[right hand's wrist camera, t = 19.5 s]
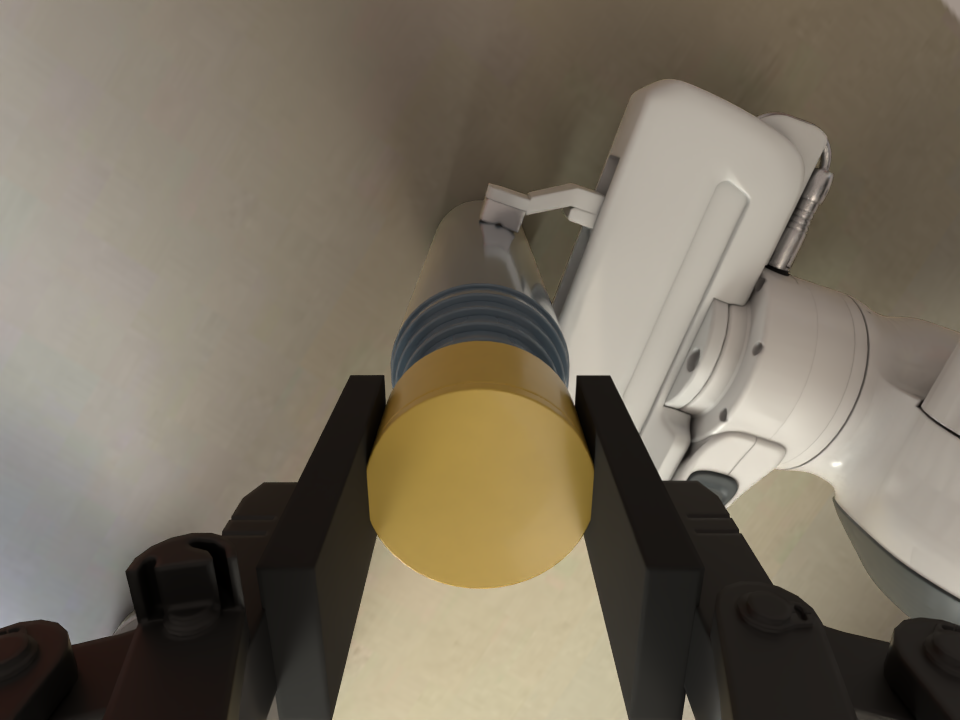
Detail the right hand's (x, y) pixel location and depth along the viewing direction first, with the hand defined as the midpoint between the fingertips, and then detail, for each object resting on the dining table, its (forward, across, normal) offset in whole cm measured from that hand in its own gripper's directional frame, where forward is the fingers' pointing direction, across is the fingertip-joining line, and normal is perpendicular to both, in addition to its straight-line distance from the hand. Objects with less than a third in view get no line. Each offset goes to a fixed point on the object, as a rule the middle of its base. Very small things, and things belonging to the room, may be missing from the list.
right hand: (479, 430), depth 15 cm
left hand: (+15, -1, 0) cm, 15 cm away
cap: (0, 0, 0) cm, 0 cm away
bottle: (+22, 0, 0) cm, 22 cm away
